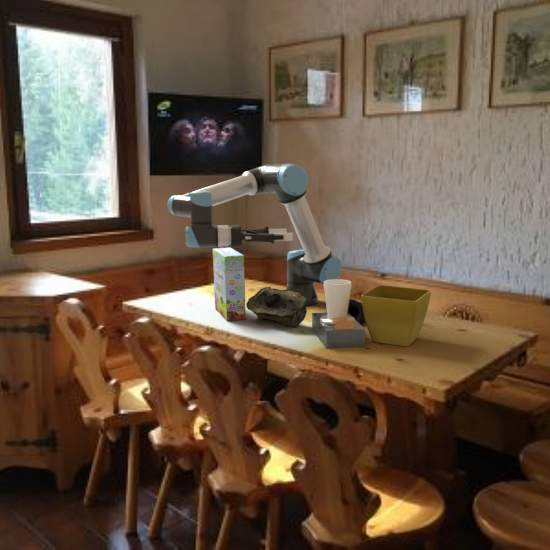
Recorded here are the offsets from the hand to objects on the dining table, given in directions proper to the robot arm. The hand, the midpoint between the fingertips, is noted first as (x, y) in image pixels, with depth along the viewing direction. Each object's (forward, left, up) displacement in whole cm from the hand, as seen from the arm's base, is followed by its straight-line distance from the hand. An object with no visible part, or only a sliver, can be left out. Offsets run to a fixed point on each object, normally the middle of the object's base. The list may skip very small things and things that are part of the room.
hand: (289, 234), depth 219 cm
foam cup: (+13, +15, -28) cm, 34 cm away
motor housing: (+13, +15, -35) cm, 40 cm away
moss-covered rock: (-9, -3, -35) cm, 37 cm away
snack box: (-26, -20, -35) cm, 48 cm away
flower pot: (+19, +34, -35) cm, 52 cm away
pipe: (-10, +27, -35) cm, 45 cm away
